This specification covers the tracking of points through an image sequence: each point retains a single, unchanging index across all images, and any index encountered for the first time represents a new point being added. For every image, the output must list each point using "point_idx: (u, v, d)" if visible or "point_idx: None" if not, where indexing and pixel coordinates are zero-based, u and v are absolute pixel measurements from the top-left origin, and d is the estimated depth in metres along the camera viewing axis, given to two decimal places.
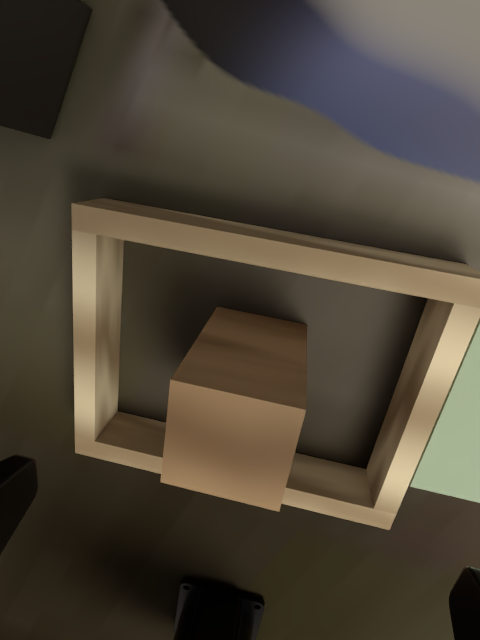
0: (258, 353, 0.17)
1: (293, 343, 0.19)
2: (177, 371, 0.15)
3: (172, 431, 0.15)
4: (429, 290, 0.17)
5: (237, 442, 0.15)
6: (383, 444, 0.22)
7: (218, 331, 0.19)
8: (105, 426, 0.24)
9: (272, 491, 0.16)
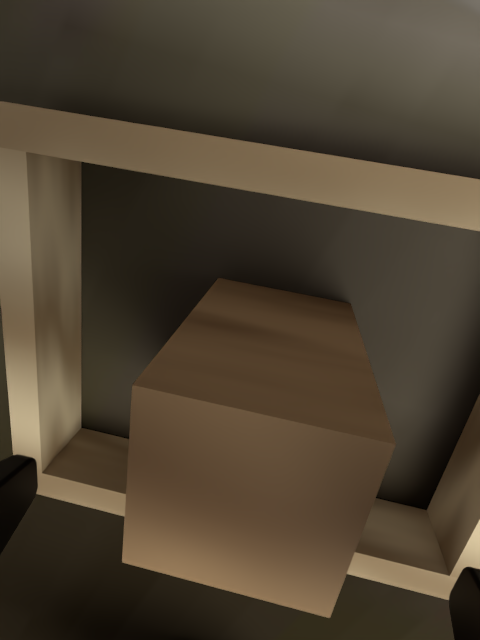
0: (287, 341, 0.11)
1: (338, 327, 0.12)
2: (147, 369, 0.08)
3: (139, 479, 0.08)
4: None
5: (259, 500, 0.08)
6: (460, 479, 0.15)
7: (220, 309, 0.12)
8: (61, 449, 0.17)
9: (319, 585, 0.09)
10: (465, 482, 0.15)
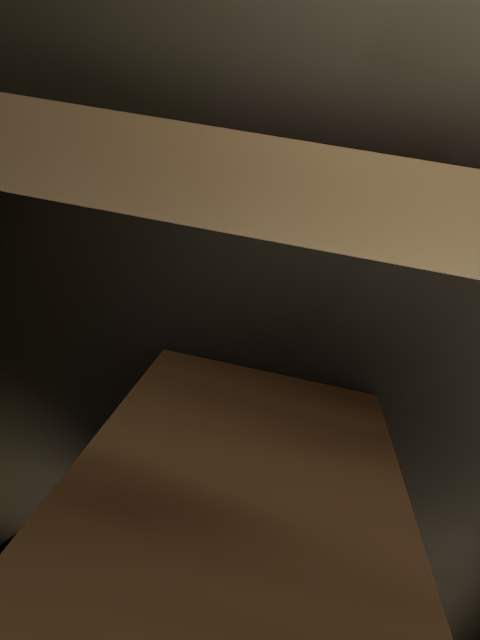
0: (262, 550, 0.05)
1: (365, 475, 0.06)
2: None
3: None
4: None
5: None
6: None
7: (142, 440, 0.06)
8: None
9: None
10: None
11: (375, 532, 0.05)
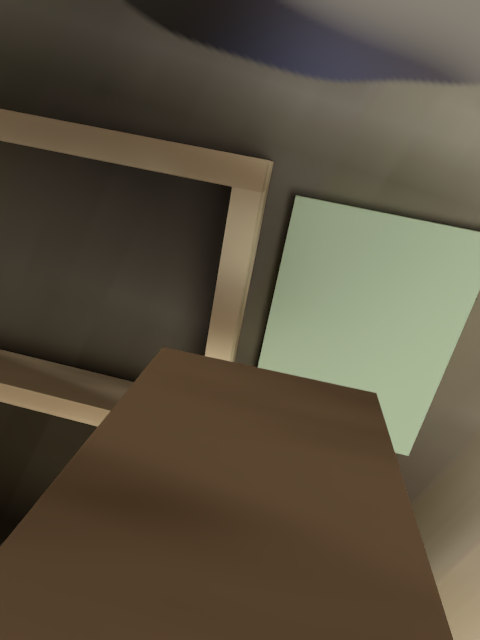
0: (261, 546, 0.05)
1: (363, 472, 0.06)
2: None
3: None
4: (205, 172, 0.16)
5: None
6: None
7: (140, 438, 0.06)
8: None
9: None
10: None
11: (374, 529, 0.05)
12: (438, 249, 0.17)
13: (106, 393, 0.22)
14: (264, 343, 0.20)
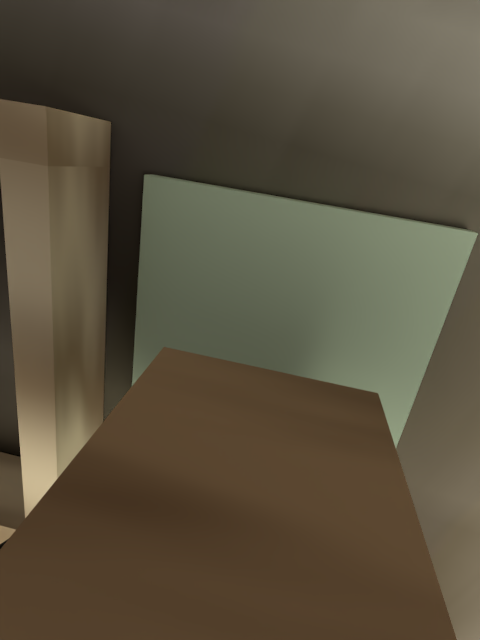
0: (263, 546, 0.05)
1: (366, 472, 0.06)
2: None
3: None
4: None
5: None
6: None
7: (142, 438, 0.06)
8: None
9: None
10: None
11: (376, 529, 0.05)
12: (375, 256, 0.11)
13: None
14: None
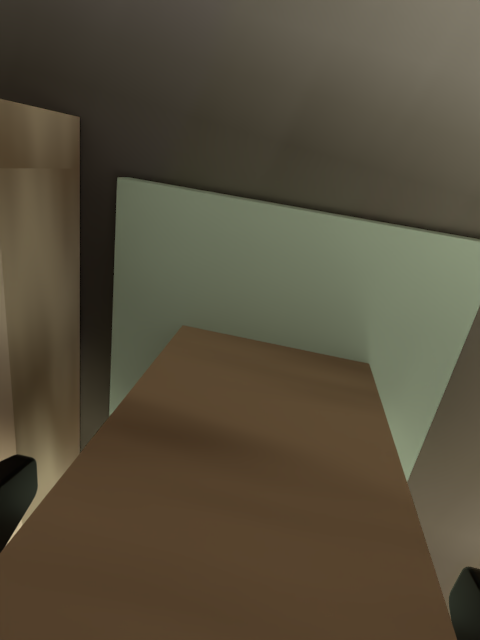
0: (273, 466, 0.06)
1: (355, 419, 0.08)
2: None
3: None
4: None
5: None
6: None
7: (171, 392, 0.08)
8: None
9: None
10: None
11: (363, 457, 0.07)
12: (383, 271, 0.09)
13: None
14: None
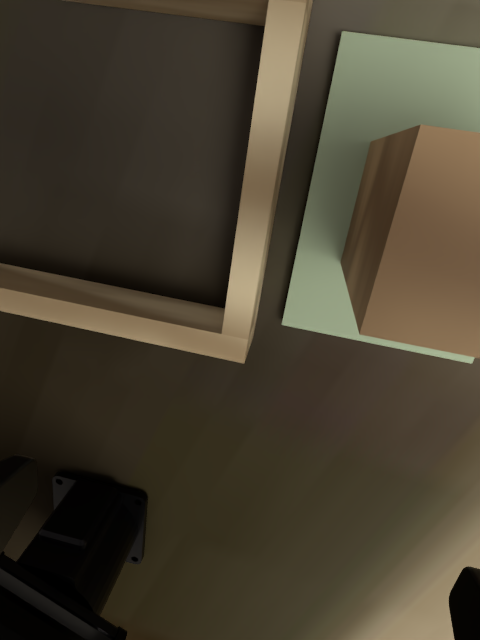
0: None
1: None
2: (416, 127, 0.09)
3: (401, 233, 0.09)
4: None
5: None
6: None
7: None
8: None
9: None
10: None
11: None
12: None
13: (121, 301, 0.19)
14: (302, 231, 0.17)
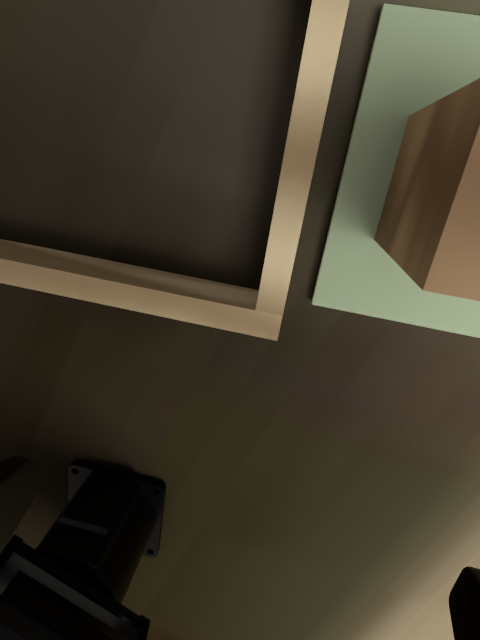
0: None
1: None
2: None
3: (473, 182, 0.09)
4: None
5: None
6: None
7: None
8: None
9: None
10: None
11: None
12: None
13: (150, 279, 0.19)
14: (336, 207, 0.17)
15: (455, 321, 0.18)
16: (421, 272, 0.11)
